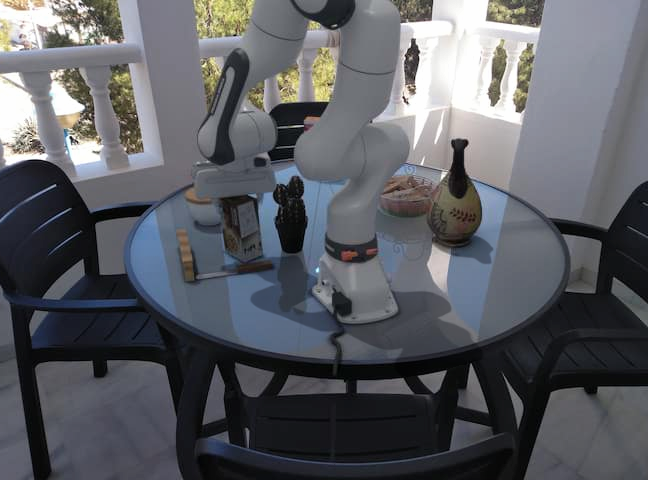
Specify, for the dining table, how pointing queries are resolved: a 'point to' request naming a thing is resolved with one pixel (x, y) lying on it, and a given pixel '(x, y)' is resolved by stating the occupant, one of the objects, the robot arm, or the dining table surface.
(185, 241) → the oak rail
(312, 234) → the dining table surface
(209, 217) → the lidded bowl
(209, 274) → the table knife
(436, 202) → the ceramic jug
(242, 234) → the coffee box
